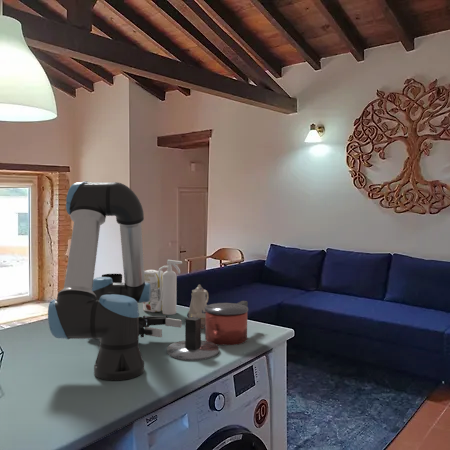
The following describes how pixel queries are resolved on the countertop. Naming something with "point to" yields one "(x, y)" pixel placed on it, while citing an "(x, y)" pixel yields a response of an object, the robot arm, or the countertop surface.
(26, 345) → the countertop surface
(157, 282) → the juice carton
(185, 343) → the lid
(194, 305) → the chinaware
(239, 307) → the pot
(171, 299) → the fire extinguisher
